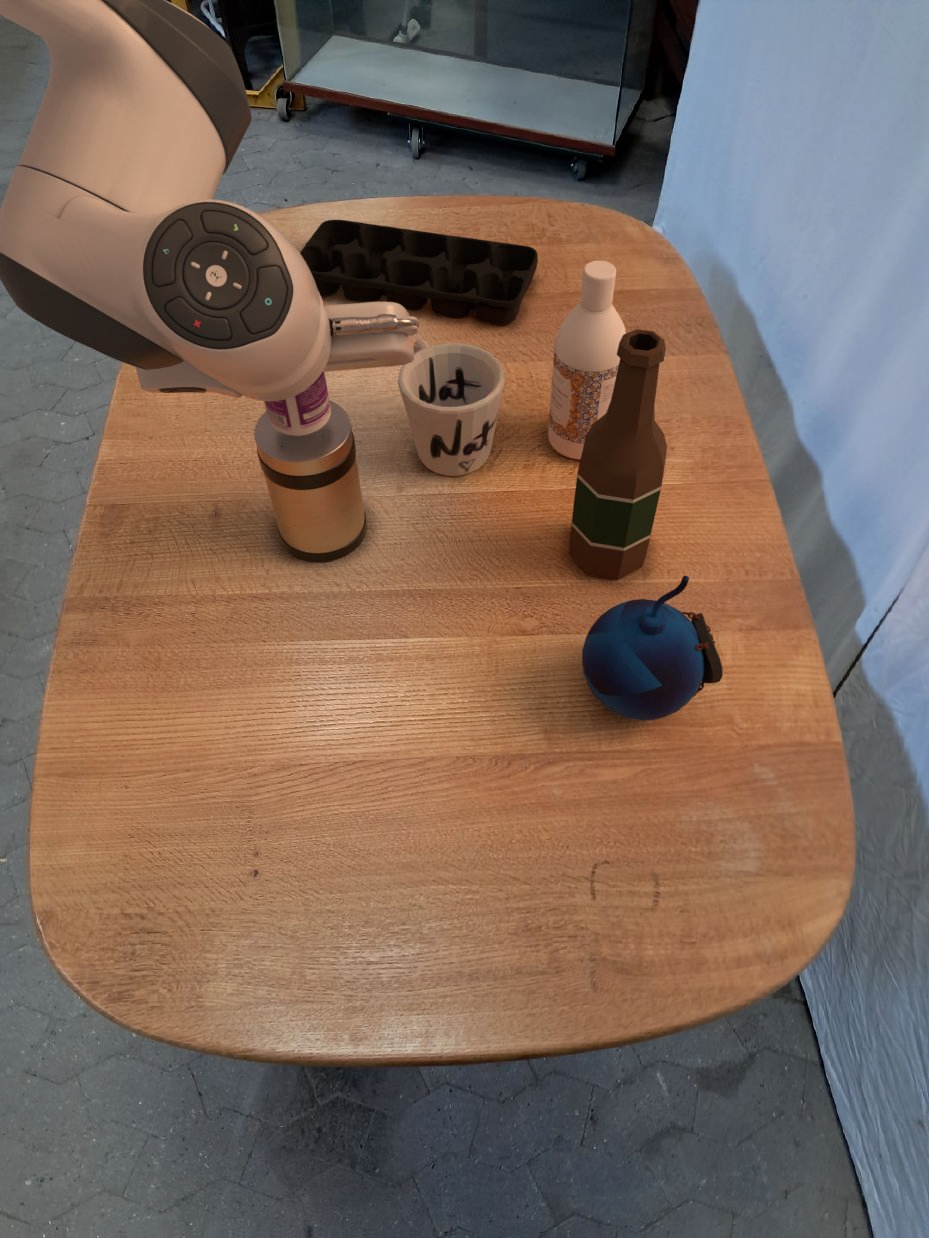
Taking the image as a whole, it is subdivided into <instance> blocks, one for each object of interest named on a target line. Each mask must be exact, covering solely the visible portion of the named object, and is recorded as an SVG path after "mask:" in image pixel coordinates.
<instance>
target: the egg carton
mask: <svg viewBox="0 0 929 1238" xmlns="http://www.w3.org/2000/svg"><path fill="white" fill-rule="evenodd" d="M299 253H300V254H301V256H302V257H303V259H304V260H305V262H306V264H307V265H308V267H309V269H310V271H311V273H312V276H313V278H314V281H315V283H316V286H317V289H318V291H319V293H320V296H321V297H330V296H333V295H336V293H337V292H338V291H339V290H340V288H341V289H342V293H343V297H344V298H345V299H346V300H348V301H351V302H355V303H366V302H380V300H381V298H382V297H385V298H386V302H394V303H398V304H400V305H402V306H403V307H404V308H405V309H406V310H407V311H419V310H422V309H424V308H425V306H426V304H427V303H428V301H429V302H430V308H431V310H432V312H433V313H434V314H435V315H436V316H442V317H447V318H453V319H454V318H455V319H462V318H465V317H467V316H469V315H470V314H471V312H472V311H475V312H476V318H477V320H478V321H480V322H482V323H485V324H490V325H491V324H492V325H499V326H504V325H509V324H511V323H513V322H515V321H516V319H517V317H518V315H519V312H520V308H521V304H522V303H523V299H524V297H525V294H526V293H527V291H528V290H529V288H530V286H531V283H532V281H533V278H534V275H535V273H536V271H537V267H538V263H539V255H538V251H537V250H536V249H535V248H534V247H532V246H529V245H524V244H523V245H522V244H516V243H509V242H501V241H493V240H486V239H479V238H472V237H466V236H456V235H449V234H442V233H436V232H430V231H422V230H417V229H416V230H415V229H408V228H402V227H395V226H388V225H380V224H373V223H366V222H361V221H359V222H358V221H353V220H346V219H327V220H324V221H323V222H321V223H320V225H319V226H318V227H317V229H316V230H314V232H313V233H312V235H311V237H310V238H309V239H308V241H307V242H306V244H304V246H303V248H302V249H301V250H300V251H299Z"/></svg>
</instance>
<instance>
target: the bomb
mask: <svg viewBox="0 0 929 1238" xmlns="http://www.w3.org/2000/svg"><path fill="white" fill-rule="evenodd" d="M689 581H690V577H689V576H688V575H683V576H682V577H681V580H680V583H679V584H678V585H677V586H676V587H675V588H674V589H672V590H670V591H668V592H667V593H665V594H663V595H661V596H659V598H658V599H657V600H656V599H648V598H639V599H637V598H636V599H631V600H627V601H624V602H620V603H618V604H616V605H614V606H613V607H610V608H609V609H608V610H606V611H605V612H603V613H602V614H601V615H600V616H599V617H598V618H597V619H596V620H595V622H594V623H593V624H592V626H591V627H590V629H589V631H588V633H587V634H586V636H585V639H584V643H583V646H582V649H581V665H582V673H583V676H584V679H585V682H586V684H587V686H588V689H589V690H590V692H591V694H592V695H593V696H594V698H595V699H596V700H597V701H598V702H599V703H600V704H601V705H603V706H604V707H605V708H606V709H607V710H609V711H610V712H612V713H614V714H615V715H617V716H620V717H623V718H626V719H629V720H635V721H642V722H643V721H645V722H646V721H654V720H659V719H664V718H666V717H668V716H670V715H673V714H675V713H676V712H678V711H679V710H681V709H682V708H683V707H685V705H687V704H688V703H690V701H691V700H692V699H693V698H694V697H696V695H698V693H699V692H701V691H703V689H704V688H705V687H704V686H705V684H706V685H707V684H708V685H709V684H717V683H720V682H721V680H722V678H723V675H724V673H723V672H724V671H723V670H724V669H723V665H722V660H721V658H720V655H719V652H718V650H717V647H716V640H714V635H713V634H712V633H711V627H710V626H709V625H707V622H706V620H705V616H704V614H703V613H702V612H699V613H695V612H693V611H690V612H689V611H688V612H687V611H681V610H679V609H677V608H675V607H674V606H672V605H670V604H668V603H666V602H668V601H669V600H671V599H673V598H675V597H677V596H678V595H680V594H681V593H682V592H683V591H684V590H685V589H686V588H687V586H688V583H689ZM690 619H691V620H690Z"/></svg>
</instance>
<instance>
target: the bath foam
mask: <svg viewBox="0 0 929 1238" xmlns="http://www.w3.org/2000/svg"><path fill="white" fill-rule="evenodd" d="M616 279H617V268H616V266H615V265H614V264H612V263H611V262H610V261H609V262H608V261H606V260H592V261H590V262H588V263H587V264H585V265H584V267H583V270H582V279H581V280H582V281H581V289H580V301H579V302H578V303H577V304H576V305H575V306H574V307H573V309H571V310H570V312H569V313H568V314H567V315H566V317H565V318H564V319H563V321H562V323H561V325H560V326H559V329H558V331H557V334H556V337H555V343H554V349H553V361H552V363H553V364H552V372H551V373H552V374H551V375H552V376H551V386H550V387H551V389H550V400H549V414H548V429H547V438H548V441H549V443H550V445H551V446H552V448H553V449H554V450H555V451H556V452H557V453H559V454H560V455H562V456H564V457H566V458H569V459H572V460H573V459H574V460H580V459H581V455H582V451H583V446H584V442H585V437H586V434H587V433H588V431H589V429H590V428H591V426H592V425H593V423H594V422H596V421H597V420H598V419H600V418H601V417H602V416H603V415H605V414H606V412H607V409H608V407H609V404H610V401H611V398H612V393H613V389H614V384H615V380H616V375H617V371H618V366H619V362H620V357H618V356H617V351H618V346H619V342H620V340H621V338H622V336H623V335H624V334H626V333H627V331H626V327H625V325H624V322H623V320H622V318H621V316H620V315H619V313H618V311H617V309H616V308H615V306H614V304H613V299H614V292H615V284H616Z"/></svg>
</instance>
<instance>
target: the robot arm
mask: <svg viewBox="0 0 929 1238" xmlns="http://www.w3.org/2000/svg"><path fill="white" fill-rule="evenodd" d="M0 16H2V17H3V18H5V19H7V20H8V21H11V22H13V23H14V24H17V25H18V26H20V27H21V28H24V29H25V30H28V31H29V32H31V33H33V34H35V35H37V36H39V37H40V38H41V39H42V40H43V42H44V43H45V45H46V47H47V51H48V55H49V61H50V62H49V63H50V72H49V79H48V83H47V86H46V89H45V92H44V94H43V97H42V100H41V101H40V102H41V103H40V105H39V108H38V111H37V114H36V116H35V119H34V122H33V124H32V127H31V130H30V132H29V135H28V138H27V141H26V143H25V146H24V148H23V151H22V154H21V157H20V159H19V163H18V165H17V166H15V168H14V170H13V173H12V175H11V179H10V181H9V185H8V187H7V190H6V193H5V195H4V198H3V201H2V204H1V207H0V282H1V283H2V285H3V287H4V288H5V290H6V292H7V294H8V295H9V296H10V298H11V299H12V301H13V302H14V304H15V306H16V307H17V308H18V309H20V310H21V311H22V312H24V313H25V314H26V315H28V316H29V317H31V318H32V319H34V320H35V321H36V322H39V323H40V324H42V325H43V326H45V327H47V328H48V329H50V330H52V331H54V332H56V333H57V334H60V335H62V336H63V337H66V338H68V339H70V340H71V341H74V342H77V343H78V344H80V345H83V346H86V347H88V348H90V349H92V350H94V351H97V352H98V353H100V354H102V355H105V356H106V357H110V358H111V359H114V360H116V361H118V362H121V363H123V364H127V365H129V366H132V367H135V370H136V375H137V379H138V383H139V386H140V388H141V389H142V391H145V392H148V393H155V394H158V393H159V394H160V393H163V394H179V393H180V394H183V393H195V394H197V393H198V394H199V393H200V394H205V393H212V394H218V395H219V394H220V395H225V396H229V397H233V398H237V399H239V398H241V397H245V398H248V399H251V400H255V401H260V402H264V401H280V400H284V399H288V398H291V397H293V396H296V395H298V394H300V393H301V392H303V391H305V390H306V389H307V388H309V387H310V386H311V385H312V384H313V383H314V382H315V381H316V380H317V379H318V377H319V376H320V375H321V373H322V372H324V373H326V372H327V373H328V372H339V371H351V370H352V371H353V370H362V369H375V368H386V367H387V368H388V367H397V366H398V367H399V366H403V365H404V364H408V363H411V362H412V361H413V360H414V347H413V346H414V337H413V336H414V335H416V334H417V333H418V332H419V327H420V323H419V321H418V318H417V317H416V316H411V314H410V313H409V312H408V311H409V310H406V309H405V308H404V307H403V306H402V305H400V304H398V303H394V302H387V301H375V302H354V303H342V304H331V305H330V304H329V305H325V303H324V300H323V298H322V296H320V293H319V291H318V289H317V286H316V283H315V281H314V278H313V276H312V273H311V271H310V269H309V267H308V265H307V264H306V262H305V260H304V259H303V257H302V256H301V254H300V251H299V250H298V249H297V248H296V246H295V245H294V244H293V242H292V241H291V240H290V239H289V238H288V237H287V236H286V235H285V234H284V233H283V232H282V231H280V229H278V228H277V227H276V226H275V225H274V224H272V223H271V222H270V221H268V220H267V219H265V218H264V217H263V216H261V215H259V214H258V213H257V212H254V211H253V210H251V209H249V208H248V207H245V206H243V205H241V204H239V203H235V202H231V201H227V200H221V199H214V197H215V194H216V191H217V189H218V186H219V184H220V181H221V179H222V176H223V175H225V173H226V172H227V171H228V170H229V167H230V165H231V163H232V161H233V159H234V157H235V155H236V153H237V150H238V149H239V147H240V145H241V143H242V141H243V139H244V137H245V135H246V133H247V132H248V129H249V127H250V126H251V122H252V111H251V106H250V102H249V98H248V93H247V90H246V86H245V83H244V78H243V75H242V73H241V70H240V68H239V67H240V66H239V64H238V62H237V60H236V57H235V54H234V52H233V50H232V48H231V47H230V45H229V44H228V43H227V42H226V41H225V40H224V39H223V38H222V37H221V36H220V35H218V34H217V33H216V32H215V31H213V30H212V29H211V28H210V27H209V26H207V24H205V23H204V22H203V21H201V20H200V19H199V18H197V17H196V16H195V15H194V14H192V13H190V12H188V11H186V10H185V9H183V8H181V7H180V6H179V5H176V4H174V3H172V2H171V1H168V0H0Z"/></svg>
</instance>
